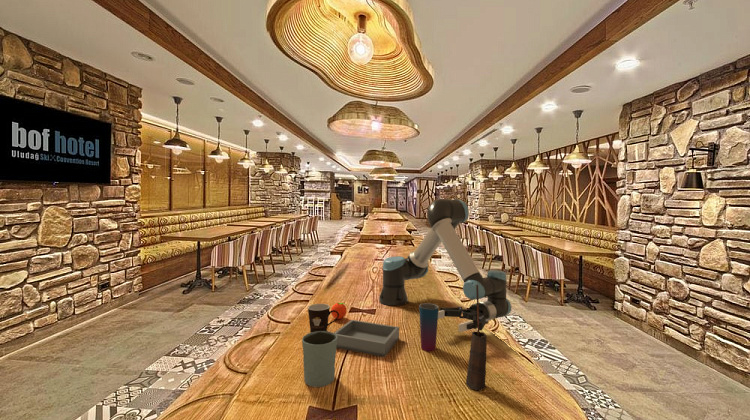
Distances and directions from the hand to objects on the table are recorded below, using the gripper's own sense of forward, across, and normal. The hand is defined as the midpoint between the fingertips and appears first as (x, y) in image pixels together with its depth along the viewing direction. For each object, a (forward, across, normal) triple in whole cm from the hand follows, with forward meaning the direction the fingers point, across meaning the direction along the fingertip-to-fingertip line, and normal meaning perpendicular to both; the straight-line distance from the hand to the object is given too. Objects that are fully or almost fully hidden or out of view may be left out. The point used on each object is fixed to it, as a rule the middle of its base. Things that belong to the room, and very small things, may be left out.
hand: (444, 322), depth 114 cm
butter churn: (+13, -25, -8) cm, 29 cm away
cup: (+8, 0, -8) cm, 11 cm away
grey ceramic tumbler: (+48, +3, -8) cm, 49 cm away
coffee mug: (+34, +33, -8) cm, 48 cm away
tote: (+24, +16, -8) cm, 30 cm away
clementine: (+20, +44, -8) cm, 49 cm away
